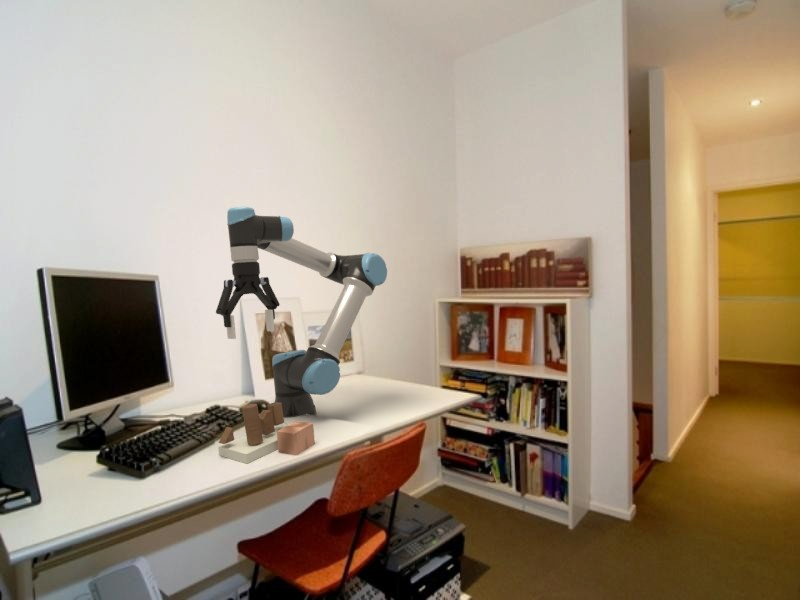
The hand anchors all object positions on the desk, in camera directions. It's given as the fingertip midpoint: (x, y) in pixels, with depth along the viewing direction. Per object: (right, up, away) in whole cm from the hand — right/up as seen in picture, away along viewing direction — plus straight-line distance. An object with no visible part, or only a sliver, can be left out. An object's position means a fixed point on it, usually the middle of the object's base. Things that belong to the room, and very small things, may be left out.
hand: (252, 334), depth 129 cm
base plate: (+5, -31, -4) cm, 32 cm away
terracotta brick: (+13, -28, -12) cm, 33 cm away
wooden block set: (+4, -29, -6) cm, 30 cm away
